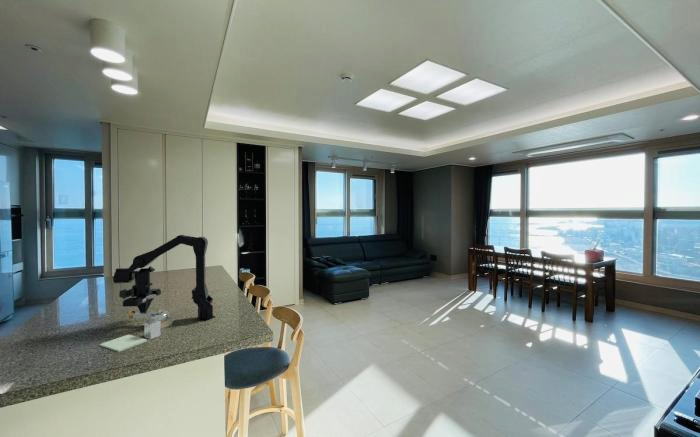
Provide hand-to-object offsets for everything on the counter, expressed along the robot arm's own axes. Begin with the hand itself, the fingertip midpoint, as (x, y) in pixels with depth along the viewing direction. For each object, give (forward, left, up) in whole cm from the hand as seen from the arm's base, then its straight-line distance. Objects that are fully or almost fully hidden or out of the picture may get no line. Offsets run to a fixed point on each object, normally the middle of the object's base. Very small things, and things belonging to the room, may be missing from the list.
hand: (143, 315), depth 134 cm
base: (-9, -2, -4) cm, 10 cm away
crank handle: (-4, 0, -1) cm, 4 cm away
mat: (-15, +16, -4) cm, 22 cm away
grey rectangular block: (-18, +7, -4) cm, 20 cm away
